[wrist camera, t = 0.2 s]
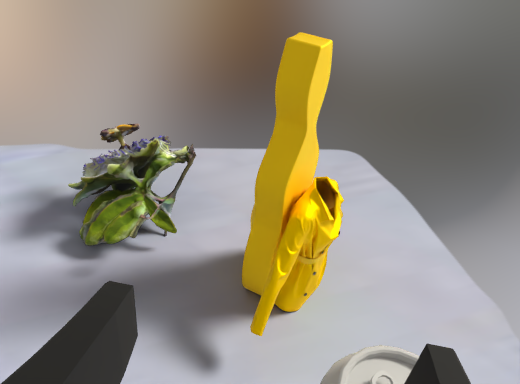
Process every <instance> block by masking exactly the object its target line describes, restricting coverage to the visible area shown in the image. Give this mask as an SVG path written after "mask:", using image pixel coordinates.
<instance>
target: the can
mask: <svg viewBox="0 0 520 384" xmlns="http://www.w3.org/2000/svg"><path fill="white" fill-rule="evenodd" d="M418 358H419V356H418V355H416V354H414V353H411V352H408V351H406V350H403V349H401V348H398V347H390V346H382V345H379V346H374V347H368V348H364V349H362V350H360V351H358V352H357V353H353V354H349V355H347V356H346V357H344V358H342V359H341V360H339V361H337V362H335V363H334V364H333V365H332V367H331V368H330V369H329V371H328V372H327V373H326V375H325V376H324V377H323V379H322V381H321V383H320V384H404V383H405V381H406V379H407V378H408V376H409V374H410V372H411V371H412V369H413V367H414V365H415V364H416V362H417V360H418Z"/></svg>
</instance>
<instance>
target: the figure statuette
mask: <svg viewBox="0 0 520 384" xmlns="http://www.w3.org/2000/svg"><path fill="white" fill-rule="evenodd" d="M332 44H333V42H332V40H329V39H325V38H321V37H317V36H313V35H309V34H305V33H301V32H299V33H298V34H297V35H295V36H293V37H290V38H288V39H287V41H286V44H285V47H284V51H283V55H282V59H281V63H280V66H279V70H278V75H277V80H276V90H275V100H276V111H277V114H276V121H275V126H274V131H273V135H272V137H271V140H270V143H269V145H268V148H267V150H266V153H265V155H264V158H263V160H262V163H261V165H260V168H259V171H258V174H257V178H256V184H255V204H254V207H253V210H252V214H251V232H250V235H249V239H248V242H247V246H246V250H245V255H244V260H243V267H242V284H243V287H245V288H246V289H248V290H250V291H252V292H255V293H257V294H259V295H261V298H260V301H259V304H258V307H257V309H256V312H255V315H254V318H253V321H252V324H251V327H250V328H251V332H253V333H254V334H256V335H259V336H262V334H263V331H264V328H265V326H266V323H267V321H268V318H269V316H270V313H271V311H272V308H273V306H274V303H275V304H276V305H277V306H278V307H279V308H280V309H282V310H284V311H288V312H292V311H297V310H299V309H300V308H301V306H302V305H303V304H304V303H305V301H306V300H307V299H308V298H309V297H310V296H311V294H312V293H313V292H314V291H315V290H316V288H317V287H318V286H319V284H320V282H321V280H322V277H323V274H324V271H325V267H326V261H327V252H328V248H329V246H330V245H331V243H332V242H333V240H335V239H336V238H337V237H338V236H339V234H340V231H339V230H340V226H341V223H342V220H341V218H342V217H343V213H342V211H341V208H340V207H341V203H342V202H343V201H344V200H343V198H342V196H341V194H340V193H339V191H338V190H339V187H338V184H337V182H336V181H335V180H333V179H329V178H328V177H315V178H314V174H315V170H316V166H317V162H318V156H319V146H318V141H317V135H316V122H317V118H318V115H319V112H320V108H321V105H322V102H323V99H324V95H325V93H326V89H327V85H328V81H329V76H330V70H331V59H332V47H333V45H332ZM313 178H314V180H313ZM312 181H313V183H312Z"/></svg>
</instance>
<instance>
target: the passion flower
mask: <svg viewBox="0 0 520 384" xmlns="http://www.w3.org/2000/svg"><path fill="white" fill-rule="evenodd" d="M139 127H140V125H139V124H128V125H119V126H117V127H115V128H111V129H110V128H108V129H105V130H102V131H101V133H100V135H101V137H102V138H101V139H102V140H107V142H114V141H116V140H119V142H120V144H121V147H120V149H119V151H117V150H114V151H115V152H111V151H109V152H110V153H111V154H105V155H102V154H101V155H100V156H99V157H97V158H90V159H93V163H87V164H85V165H84V167H83V168H84V169H83V170H85V171H83V176H85V177H81V180H82V181H81V182H79V183H74V184H69V187H71V188H74V189H77V190H79V189H82V191H80V192H79V193H78V194H77V195H76V197H75V198H74V201H73V205H74V206H76V204H77V203H79V202H80V201H81V200H82V199H83V198H87V197H88V196H89V195H94V194H98V193H101V192H103V191H104V190H105V189H107V188H108V187H109V186H110V185H111V186H112V189H113V190H109V191H104V193H102V194H100V195H98V196H97V197H96V198H95V200H94V202H92V204H91V206H90V207H89V208H88V210H87V213H86V215H85V218H84V221H83V226H82V227H81V230H80V231H79V233H80V235H81V238H82V239H83V241H84V242H85V244H86V245H89V246H91V245H97V244H100V243H107V244H114V243H117V242H119V241H122V240H124V239H125V238H127V237H128V236H130V237H131V238H135V237H136V236H137V232H138V230H139V228H140V226H141V225H142V224H143V223H144V222H145V221H146V220H148V219H151V220H152V221H153V222H154V223H155V224H156V226H158V227H160V228H162V229H163V230H165V234H164V236H166V235H167V231H168V232H171V233H176V232H177V229H176V228H175V226H174V224H173V222H172V220H171V219H170V216H171V210H172V207H173V204H174V202H175V196H176V193H177V190H178V189H179V187H180V185H181V183H182V180H183V178H184V177H185V175H186V173H187V171H188V169H189V168H190V166H191V165H192V163H193V160H194V158H195V156H196V154H195V152H194V148H193V144H192V145H191V147H190V149H189V147H188V146H185V147H184V148H183V149H182V150H175V151H171V150H169V147H170V144H171V142H170V141H169V140H168V136H163V137H162V136H159V137H158V138H157V137H153V138H152V139H150V140H149V141H148V140H147V139H145V140H144V139H141V141H140V142H137V141H135V142H133V144H132V145H131V146H129V145H127V144H126V143H125V142H124V136H126V135H128V134H131V133H132V132H133V131H136V130H138V129H139ZM188 149H189V152H188ZM185 161H187V162H188V164H187V166H186V168H185V169H184V171H183V173H182V175H181V177H180V179H179V181H178V182H177V184H176V186H175V188H174V190H173V191H172V192H171V193H170V194H169V195H167V196H166V197H163V198H161V197H159V196H158V195H156V194H155V193H153V192H152V191H151V185H152V183H153V182H154V181H155V180H156V179H157V177H158V176H159V174H160V173H161V172H162V171H163V170H165V169H167V168H168V167H170V166H172V165H174V163H185ZM134 187H135V188H134ZM132 188H134V189H132ZM153 200H156V201H159V204H157V203H156V202H154V201H153ZM147 214H149V215H150V217H148V218H146V215H147Z"/></svg>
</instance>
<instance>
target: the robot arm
mask: <svg viewBox="0 0 520 384" xmlns="http://www.w3.org/2000/svg"><path fill="white" fill-rule="evenodd" d="M137 336H138V333H137V322H136V311H135V300H134V289H133V286H132V285H127V284H122V283H117V282H112V281H109V282H107V283H105V284H104V285H103V286H102V288H101V289H100V290H99V291H98V292H97V293H96V294H95V295H94V296H93V297H92V298H91V299H90V300H89V301H88V302H87V303H86V304H85V306H84V307H83V308H82V309H81V310H80V311H79V312H78V313H77V314H76V315H75V316H74V317H73V318H72V319H71V320H70V321H69V322H68V323H67V324H66V325H65V326H64V327H63V328H62V329H61V330H60V331H59V332H57V333H56V334H55V335H54V336H53V337H52V338H51V339H50V340H49V341H48V342H47V343H46V344H45V345H44V346H43V347H42V348H41V349H40V350H39V351H38V352H36V353H35V354H34V355H33V356H32V357H31V358H30V359H29V360H28V361H26V362H25V363H24V364H23V365H22V366H21V367H20V368H18V369H17V370H16V371H15V372H14V373H13V374H12V375H10V376H9V377H8V378H7V379H6V380H5V381H4V382H2V383H1V384H120V382H121V380H122V378H123V376H124V373H125V371H126V368H127V365H128V362H129V359H130V357H131V354H132V351H133V348H134V345H135V342H136V339H137ZM404 384H471V383H470V381H469V379H468V377H467V375H466V373H465V371H464V369H463V367H462V365H461V363H460V361H459V359H458V357H457V355H456V353H455V351H454V350H453V349H451V348H446V347H441V346H436V345H431V344H426V346H425V348H424V349H423V351H422V353H421V355H420V357H419V358H418V360H417V362H416V364H415V365H414V367H413V369H412V371H411V372H410V374H409V376H408V378H407V379H406V381H405V383H404Z"/></svg>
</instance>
